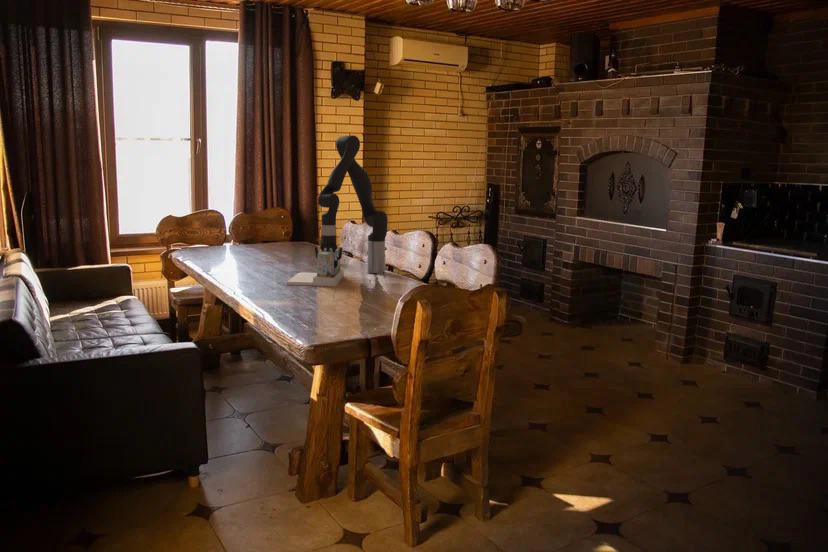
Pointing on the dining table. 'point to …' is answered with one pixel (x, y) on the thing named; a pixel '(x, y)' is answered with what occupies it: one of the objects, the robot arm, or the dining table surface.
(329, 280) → the bin
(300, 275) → the board
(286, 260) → the dining table surface
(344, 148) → the robot arm
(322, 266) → the snack box
